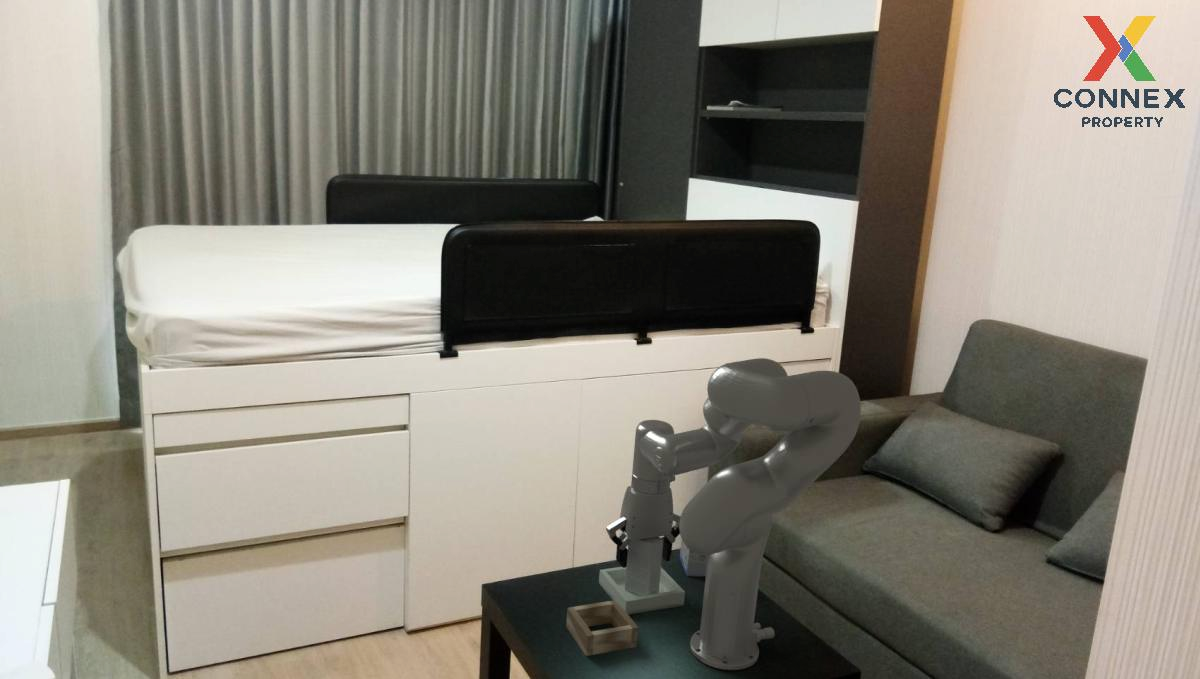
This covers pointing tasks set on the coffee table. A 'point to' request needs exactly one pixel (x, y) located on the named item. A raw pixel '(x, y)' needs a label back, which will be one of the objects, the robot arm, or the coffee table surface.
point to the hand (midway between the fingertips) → (643, 561)
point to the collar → (601, 639)
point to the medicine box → (693, 562)
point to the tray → (634, 603)
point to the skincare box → (644, 566)
